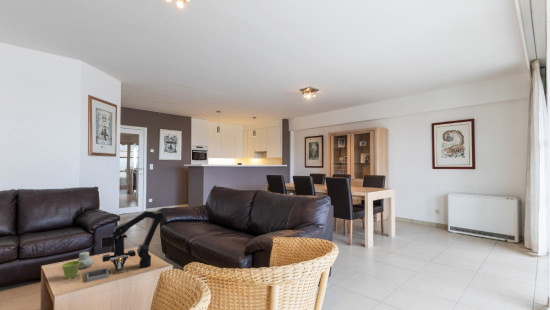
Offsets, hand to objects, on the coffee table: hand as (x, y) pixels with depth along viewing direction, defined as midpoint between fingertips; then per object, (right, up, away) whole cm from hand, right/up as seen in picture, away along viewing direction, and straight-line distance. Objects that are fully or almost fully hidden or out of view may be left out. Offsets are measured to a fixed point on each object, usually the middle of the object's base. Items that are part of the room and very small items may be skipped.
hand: (119, 268), depth 179 cm
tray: (-10, -3, -7) cm, 12 cm away
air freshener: (-31, -4, +11) cm, 33 cm away
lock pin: (0, -2, 0) cm, 2 cm away
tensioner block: (-1, -3, +2) cm, 4 cm away
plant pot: (-28, -3, -5) cm, 29 cm away
